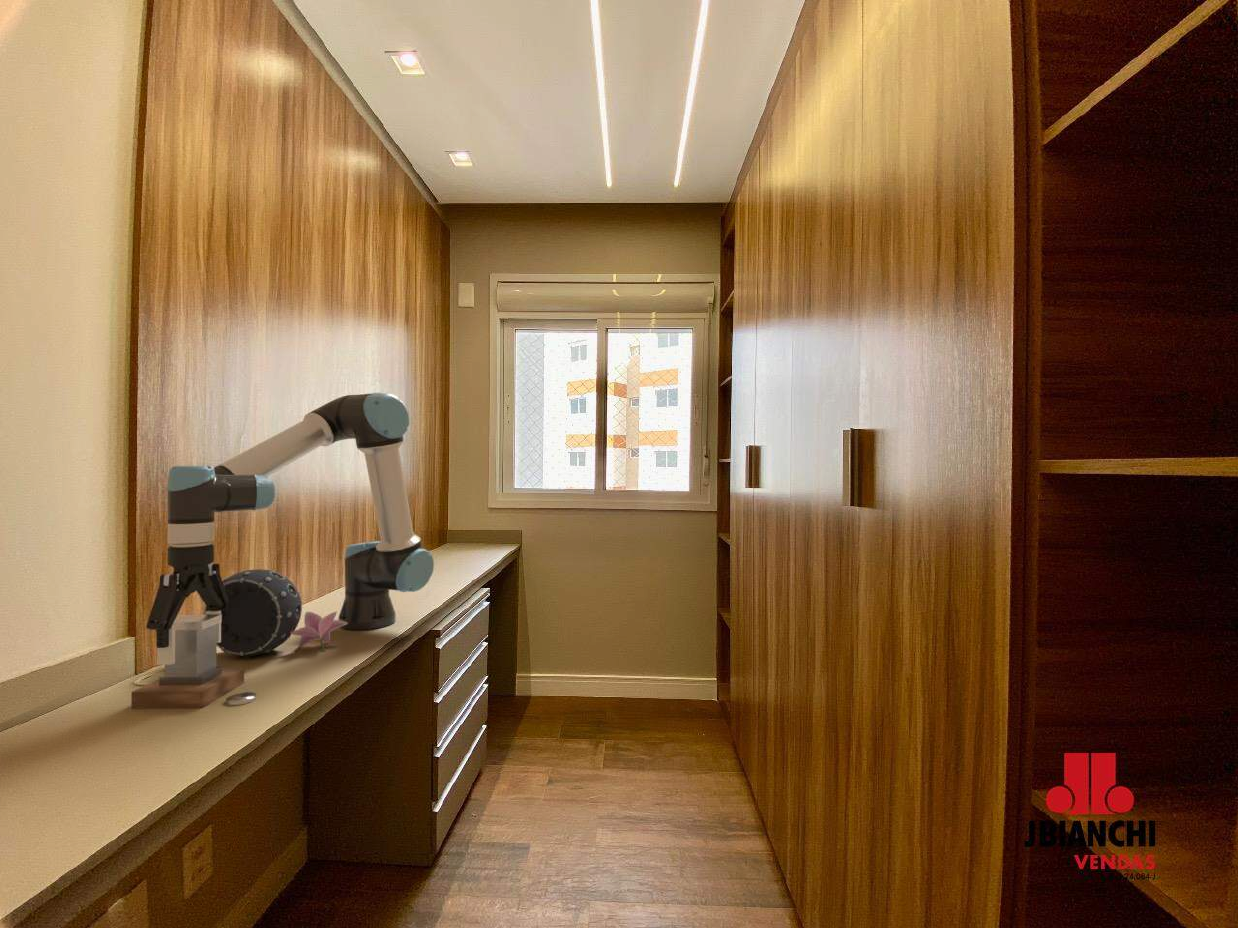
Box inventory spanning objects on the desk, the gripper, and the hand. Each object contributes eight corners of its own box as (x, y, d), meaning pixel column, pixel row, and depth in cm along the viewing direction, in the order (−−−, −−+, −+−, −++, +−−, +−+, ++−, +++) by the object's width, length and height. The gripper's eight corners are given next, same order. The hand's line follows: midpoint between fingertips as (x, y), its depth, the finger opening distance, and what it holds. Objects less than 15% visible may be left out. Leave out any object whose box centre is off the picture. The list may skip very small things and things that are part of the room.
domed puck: (235, 697, 120) (235, 692, 120) (261, 696, 120) (261, 691, 120) (220, 707, 115) (220, 702, 115) (247, 707, 115) (247, 701, 115)
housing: (181, 674, 123) (181, 614, 123) (221, 674, 123) (221, 614, 123) (159, 685, 117) (159, 622, 117) (201, 684, 117) (202, 621, 117)
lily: (355, 646, 156) (346, 610, 159) (342, 640, 145) (333, 602, 148) (306, 665, 152) (297, 628, 155) (289, 660, 142) (280, 621, 145)
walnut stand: (180, 683, 126) (180, 668, 126) (244, 682, 127) (244, 668, 127) (131, 708, 113) (131, 692, 113) (202, 707, 114) (202, 691, 114)
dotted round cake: (285, 660, 141) (285, 573, 141) (196, 661, 140) (196, 574, 140) (307, 646, 151) (307, 566, 152) (224, 647, 151) (225, 566, 151)
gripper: (212, 536, 132) (212, 635, 132) (121, 553, 107) (121, 674, 107) (247, 536, 132) (247, 634, 132) (165, 553, 108) (164, 674, 108)
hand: (191, 652), depth 120 cm, fingers open, 13 cm apart
